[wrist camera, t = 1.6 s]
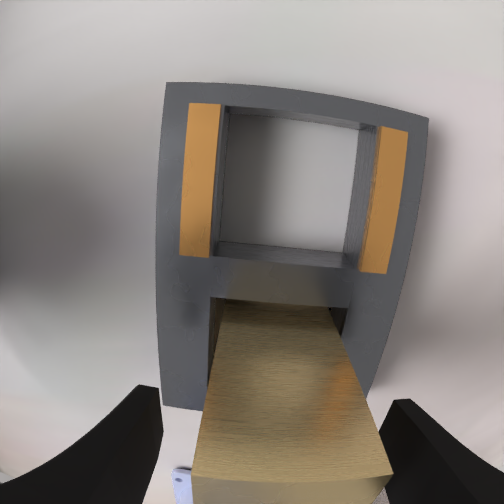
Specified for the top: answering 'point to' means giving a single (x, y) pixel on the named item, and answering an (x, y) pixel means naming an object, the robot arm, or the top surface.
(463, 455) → the robot arm
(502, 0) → the top surface
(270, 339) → the brass peg
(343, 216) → the top surface
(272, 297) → the socket
